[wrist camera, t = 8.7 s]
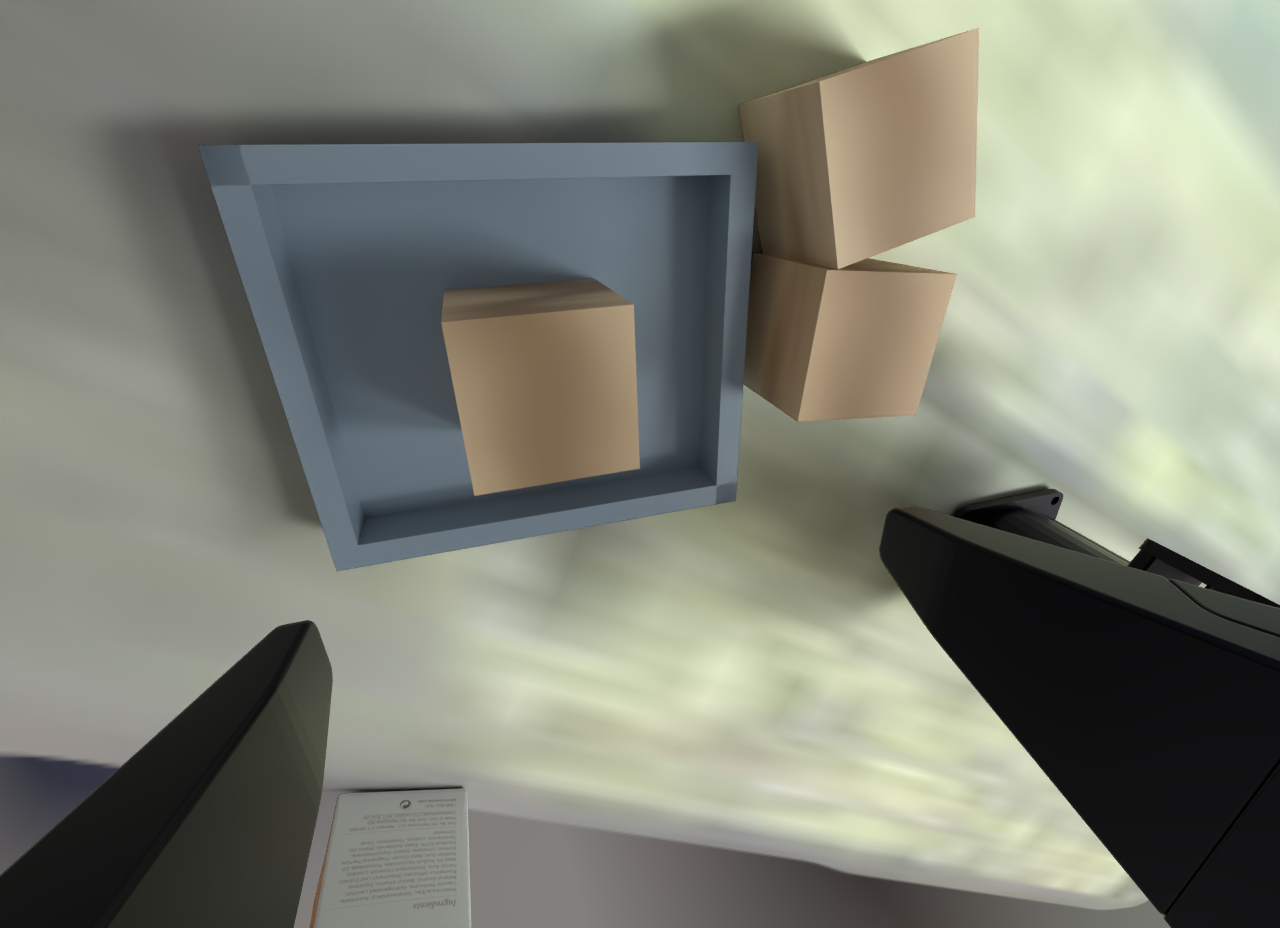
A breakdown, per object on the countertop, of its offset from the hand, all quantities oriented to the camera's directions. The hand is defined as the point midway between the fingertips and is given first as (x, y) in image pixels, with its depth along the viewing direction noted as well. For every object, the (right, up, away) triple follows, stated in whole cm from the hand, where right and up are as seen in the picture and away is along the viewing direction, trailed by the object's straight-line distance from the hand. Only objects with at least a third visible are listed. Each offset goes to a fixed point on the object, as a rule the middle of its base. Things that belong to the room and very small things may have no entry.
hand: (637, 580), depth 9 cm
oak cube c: (+6, +12, +10) cm, 16 cm away
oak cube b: (+6, +7, +12) cm, 16 cm away
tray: (-4, +6, +10) cm, 12 cm away
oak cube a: (-3, +5, +9) cm, 11 cm away
